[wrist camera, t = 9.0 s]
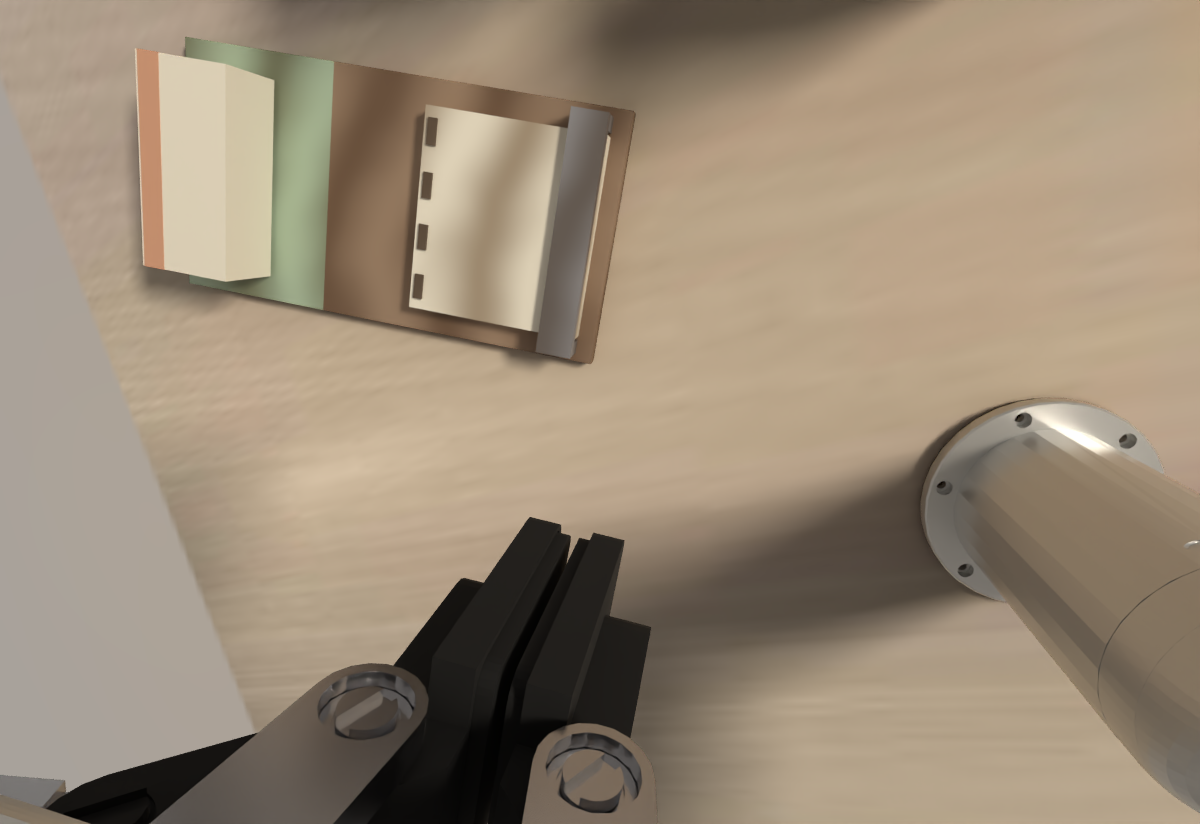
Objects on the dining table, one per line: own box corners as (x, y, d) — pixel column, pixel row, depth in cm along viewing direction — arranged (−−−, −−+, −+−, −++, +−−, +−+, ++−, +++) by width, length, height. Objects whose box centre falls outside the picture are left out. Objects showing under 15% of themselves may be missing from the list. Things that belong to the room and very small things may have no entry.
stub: (274, 79, 37) (224, 63, 33) (270, 276, 40) (225, 282, 36) (192, 66, 37) (134, 48, 33) (195, 261, 41) (142, 265, 37)
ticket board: (635, 114, 36) (630, 104, 33) (593, 360, 40) (585, 370, 37) (198, 41, 38) (158, 27, 35) (200, 281, 42) (166, 285, 40)
